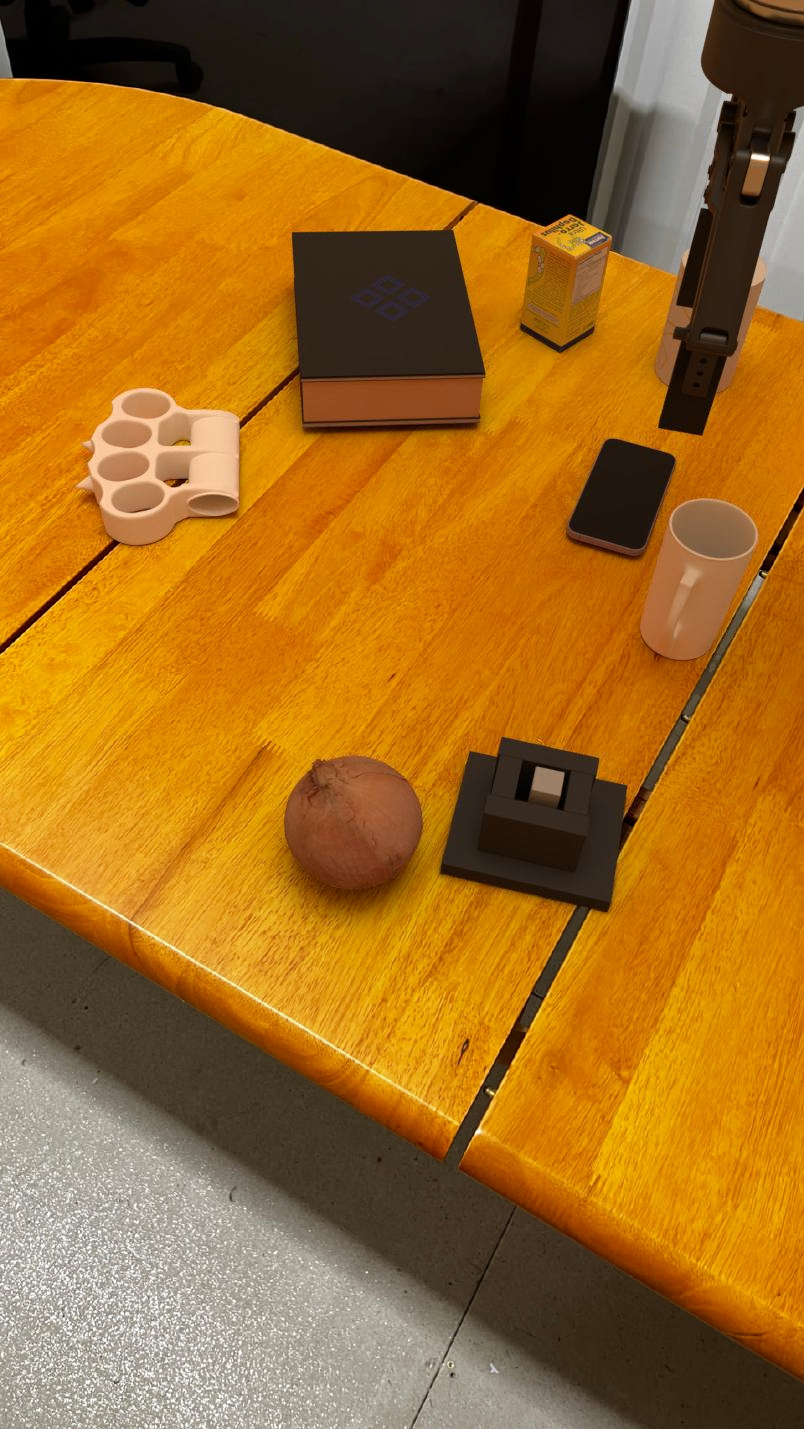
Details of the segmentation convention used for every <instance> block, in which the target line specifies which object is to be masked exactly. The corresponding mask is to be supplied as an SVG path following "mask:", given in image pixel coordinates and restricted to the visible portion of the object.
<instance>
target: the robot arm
mask: <svg viewBox="0 0 804 1429" xmlns="http://www.w3.org/2000/svg"><path fill="white" fill-rule="evenodd" d="M700 67H701V70H702V73H703V75H704V76H705V78H706V79H707V80H708V82H710V84H712V86H714V87H715V88H716V89H718V90H719V91H721V92H722V93H725V94H726V95H731V98H730V100H724V99H723V102H722V104H721V108H720V111H719V112H720V113H719V116H718V122H717V126H716V133H717V135H716V139H715V144H714V148H713V158H712V160H711V164H709V165H708V168H707V172H706V173H707V175H708V178H707V180H708V181H709V182H708V185H706V187H705V188H704V191H703V201H704V202H703V204H704V205H706V207H707V208H705V207H700V210H699V213H698V217H697V221H696V225H695V229H694V232H693V236H692V241H691V244H690V247H689V248H690V251H689V255H688V259H687V263H686V266H685V270H684V274H683V278H682V282H681V286H680V289H679V293H678V297H677V302H676V306H682V307H688V308H693V310H692V314H691V319H690V323H689V324H688V325H687V326H686V327H685V328H684V327H678V326H676V327H675V329H674V332H673V338H672V339H676V340H681V342H680V346H679V350H678V353H677V357H676V361H675V364H674V368H673V372H672V375H671V379H670V383H669V386H668V385H667V390H666V393H665V397H664V401H663V405H662V408H661V412H660V416H659V419H658V424H657V429H659V430H665V431H672V432H677V433H683V434H688V435H695V436H701V437H703V435H704V432H705V429H706V425H707V423H708V419H709V416H710V413H711V410H712V407H713V403H714V401H715V397H716V394H717V393H716V391H717V388H718V385H719V382H720V379H721V376H722V372H723V369H724V366H725V363H726V360H727V357H732V355H734V352H735V351H736V349H737V346H738V341H737V338H738V334H739V330H740V326H741V322H742V319H743V315H744V311H745V307H746V303H747V300H748V296H749V292H750V288H751V284H752V280H753V277H754V273H755V269H756V265H757V261H758V258H759V257H760V254H761V250H762V246H763V242H764V239H765V234H766V231H767V227H768V223H769V220H770V216H771V213H772V211H773V210H774V208H775V204H776V200H777V196H778V192H779V187H780V184H781V178H782V176H783V175H785V172H786V170H787V165H788V164H789V163H788V162H789V161H790V160H791V157H792V154H793V150H794V145H795V140H796V136H797V131H793V129H794V125H795V121H796V117H797V109H799V108H803V107H804V0H713V4H712V9H711V13H710V17H709V21H708V26H707V30H706V34H705V38H704V43H703V47H702V50H701V56H700Z"/></svg>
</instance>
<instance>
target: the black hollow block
mask: <svg viewBox="0 0 804 1429" xmlns="http://www.w3.org/2000/svg"><path fill="white" fill-rule="evenodd" d="M496 754H497V755H496V757H497V759H496V765H495V770H494V775H493V780H492V786H491V794H488V796H487V801H486V805H485V809H484V814H483V819H482V824H481V830H480V835H479V840H478V846H477V850H479V851H483V852H488V853H492V854H496V855H501V856H505V857H509V858H513V859H518V860H522V861H526V862H531V863H535V864H539V865H544V866H548V867H552V868H557V869H561V870H565V871H570V872H575V870H576V867H577V864H578V861H579V858H580V855H581V852H582V849H583V846H584V843H585V840H586V837H587V832H588V826H589V820H590V817H589V816H587V814H588V808H589V802H590V796H591V792H592V789H593V786H594V783H595V780H596V779H597V776H598V771H599V766H600V757H598V756H597V757H596V756H594V755H593V756H592V755H589V754H583V753H579V752H574V751H569V750H565V749H560V748H557V747H552V746H547V745H542V744H537V743H533V742H528V741H524V740H519V739H515V738H512V737H511V738H510V737H506V736H501V738H500V741H499V745H498V750H497V753H496ZM536 767H541V768H546V769H551V770H555V771H560V772H564V773H565V774H564V780H563V785H562V791H561V796H560V800H559V803H558V807H557V808H560V810H558V809H553V808H549V807H544V806H540V805H535V804H531V803H527V802H522V801H518V800H514V798H517V799H522V800H526V801H528V798H529V794H530V790H531V786H532V782H533V777H534V773H535V769H536Z"/></svg>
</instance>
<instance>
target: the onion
mask: <svg viewBox="0 0 804 1429" xmlns="http://www.w3.org/2000/svg"><path fill="white" fill-rule="evenodd" d="M311 764H312V765H311V768H310V769H309V770H308V771H306V773H305V774H304V775H303V776H302V777H301V778H300V779H299V780H298V782H297V783H296V784H295V785H294V787H293V789H292V791H291V792H290V794H289V796H288V798H287V802H286V806H285V811H284V817H283V830H284V831H283V832H284V838H285V841H286V844H287V846H288V849H289V851H290V854H291V855H292V857H293V858H294V860H295V861H296V862H297V864H298V866H300V868H302V870H303V871H304V872H306V873H307V874H308V875H309V876H311V877H312V878H314V880H316V881H319V882H321V883H323V884H325V885H328V886H330V887H333V888H337V889H342V890H347V891H349V890H361V889H368V888H373V887H376V886H378V885H381V884H383V883H386V882H390V881H393V880H395V877H396V875H397V874H398V873H400V872H401V871H402V870H403V869H404V868H405V867H406V866H407V864H408V863H409V862H410V861H411V859H412V857H413V856H414V855H415V853H416V852H417V849H418V846H419V844H420V841H421V836H422V833H423V827H424V826H423V825H424V822H423V819H424V818H423V809H422V804H421V802H420V799H419V796H418V795H417V793H416V791H415V790H414V787H413V786H412V784H411V783H410V782H409V780H408V778H406V777H405V776H404V775H402V774H401V773H400V772H399V771H398V770H397V769H395V768H394V767H392V766H391V765H389V764H388V763H387V762H384V761H382V760H379V759H376V758H374V757H370V756H365V755H343V756H338V757H334V758H330V759H327V760H326V759H321V758H316V759H315V761H312V762H311Z"/></svg>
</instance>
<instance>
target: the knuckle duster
mask: <svg viewBox="0 0 804 1429" xmlns="http://www.w3.org/2000/svg"><path fill="white" fill-rule="evenodd" d="M110 403H111V404H110V405H111V409H112V412H111V414H110V415H109V416H108V418H107V419H106V420H105V421H103V422H102V423H100V424H98V425H97V426H96V429H95V430H94V432H93V434H92V436H91V438H90V439H89V440H87V441H85V442H84V441H83V442H82V443H80V445H81V446H82V447H84V448H85V449H87V450H88V451H89V452H90V453H92V454H93V455H92V457H91V458H90V460H89V461H88V462H87V470H88V472H89V474H88V476H86V477H85V478H84V479H83V480H81V481H80V482H79V483H77V484H76V485H75V486H74V488H75V489H78V490H83V491H86V492H89V493H93V494H94V496H95V500H96V503H97V504H98V505H99V509H100V510H99V511H100V514H101V518H102V522H103V526H104V530H105V531H106V533H107V534H108V536H109V537H110V538H112V539H113V540H115V541H117V542H118V543H122V544H124V545H129V546H144V545H149V544H153V543H155V542H157V541H160V540H162V539H164V538H165V537H166V536H167V535H168V534H170V532H172V530H173V528H174V527H175V525H176V524H177V523H179V522H181V521H182V520H185V519H187V518H199V517H200V518H202V517H220V516H224V515H229V514H232V513H233V512H236V511H237V510H238V509H239V507H240V466H241V464H240V433H241V424H240V423H241V422H240V418H239V417H238V416H237V415H235V413H232V412H229V411H226V410H220V409H207V408H204V409H186V408H184V407H183V406H180V405H177V402H176V401H175V399H174V398H173V397H172V396H171V395H170V394H169V393H167V392H165V391H162V390H160V389H156V388H150V387H141V388H133V389H129V390H127V391H124V392H122V393H120V394H118V395H117V396H116V397H114V398H113V400H111V402H110ZM179 441H187V442H190V443H189V445H175V444H176V443H177V442H179ZM186 479H187V480H188V483H182V484H181V485H179V486H175V487H171V486H169V485H167V483H166V482H165V481H168V480H186Z"/></svg>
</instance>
